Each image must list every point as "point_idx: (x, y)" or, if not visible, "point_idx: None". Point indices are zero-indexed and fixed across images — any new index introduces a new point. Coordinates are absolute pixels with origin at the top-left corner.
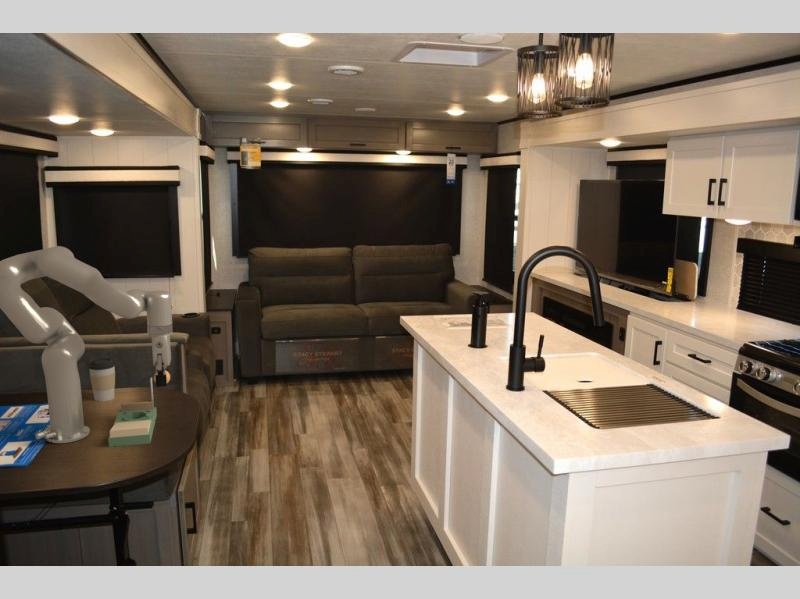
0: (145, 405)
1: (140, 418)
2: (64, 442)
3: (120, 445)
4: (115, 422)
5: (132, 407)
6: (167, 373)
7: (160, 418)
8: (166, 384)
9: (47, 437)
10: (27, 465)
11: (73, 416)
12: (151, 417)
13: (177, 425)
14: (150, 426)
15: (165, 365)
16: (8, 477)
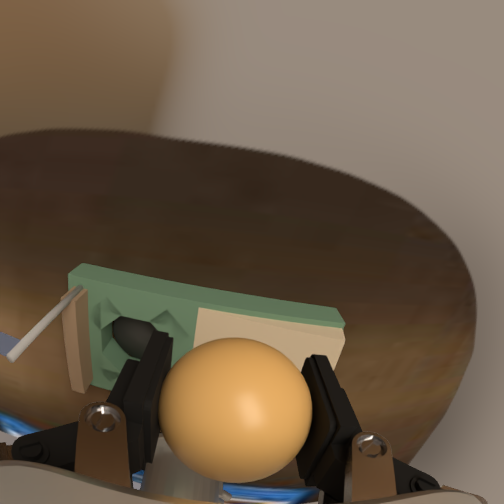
0: (81, 321)
1: None
2: None
3: None
4: None
5: (85, 358)
6: (277, 407)
7: (114, 254)
8: (327, 360)
9: (231, 495)
10: (310, 490)
11: (212, 500)
12: (172, 305)
13: (208, 201)
14: (270, 317)
15: (126, 451)
16: None
